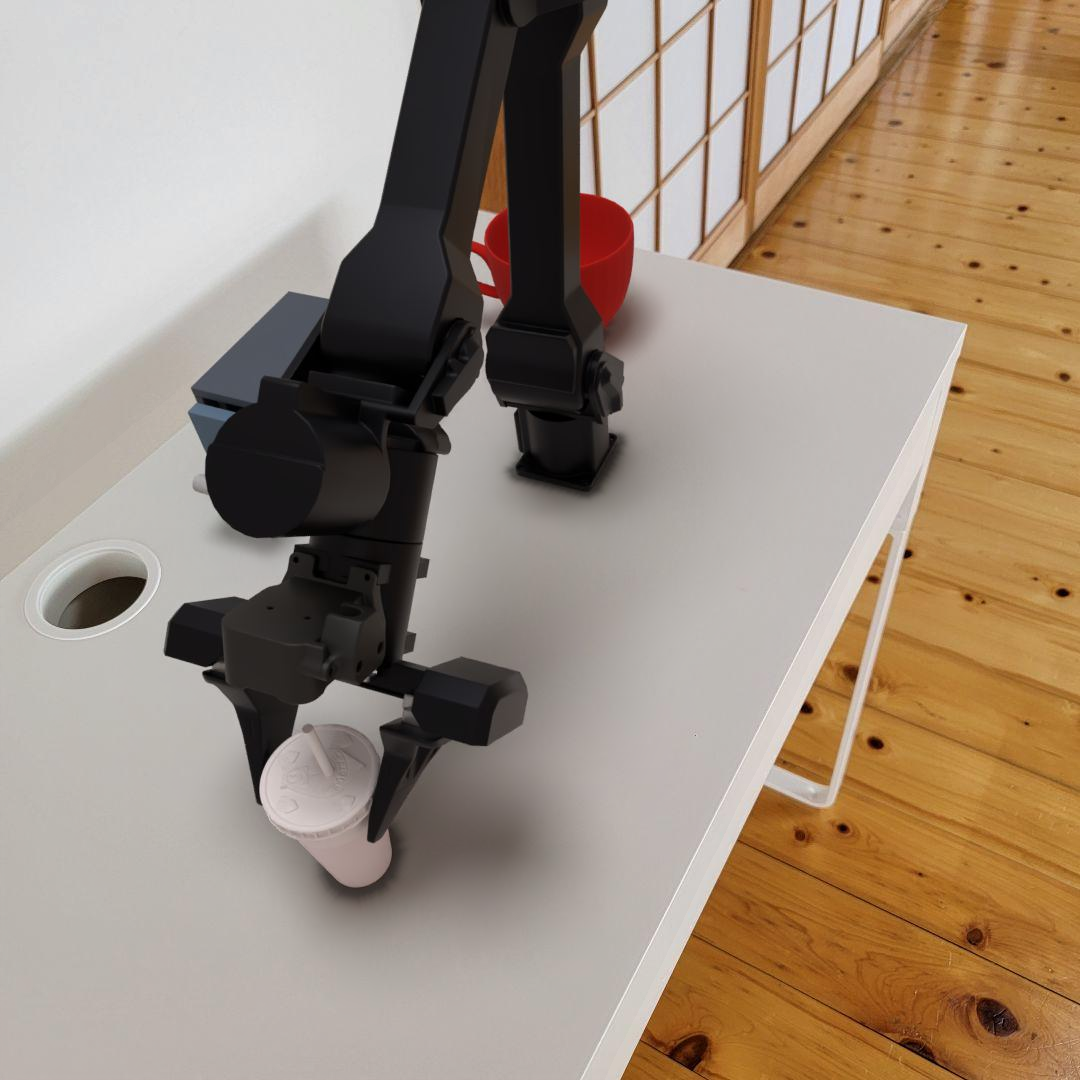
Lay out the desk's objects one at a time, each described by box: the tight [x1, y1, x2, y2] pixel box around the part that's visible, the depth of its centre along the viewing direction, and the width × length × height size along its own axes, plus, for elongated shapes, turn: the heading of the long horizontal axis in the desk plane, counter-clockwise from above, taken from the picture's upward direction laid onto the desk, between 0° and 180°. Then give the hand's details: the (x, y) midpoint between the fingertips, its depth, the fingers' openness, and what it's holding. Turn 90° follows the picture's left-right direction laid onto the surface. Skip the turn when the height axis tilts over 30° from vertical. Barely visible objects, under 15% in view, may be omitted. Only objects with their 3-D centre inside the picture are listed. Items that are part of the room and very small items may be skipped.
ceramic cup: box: [471, 192, 635, 329], centre depth 90 cm, size 13×17×10 cm
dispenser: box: [190, 290, 329, 408], centre depth 82 cm, size 14×13×9 cm
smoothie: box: [260, 723, 393, 888], centre depth 54 cm, size 6×6×14 cm
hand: (318, 821), depth 53 cm, fingers closed on smoothie, 6 cm apart
